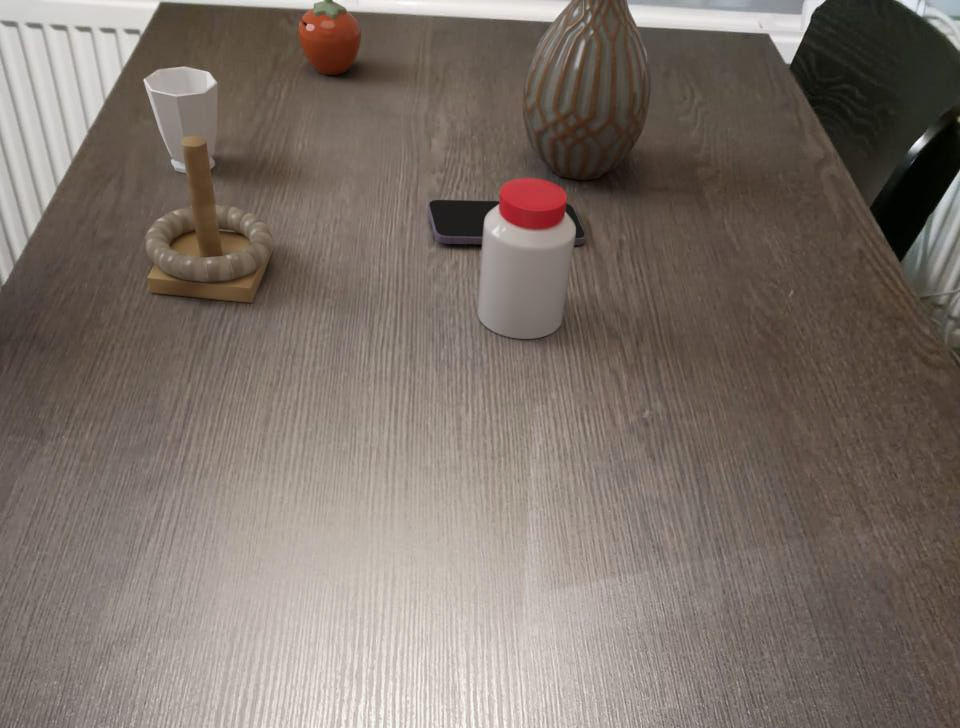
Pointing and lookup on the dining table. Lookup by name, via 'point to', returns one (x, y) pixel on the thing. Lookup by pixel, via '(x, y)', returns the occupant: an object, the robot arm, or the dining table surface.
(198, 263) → the ring
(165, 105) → the cup
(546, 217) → the pill bottle
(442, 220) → the smartphone
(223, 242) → the post
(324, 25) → the tomato
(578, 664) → the dining table surface
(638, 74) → the vase
